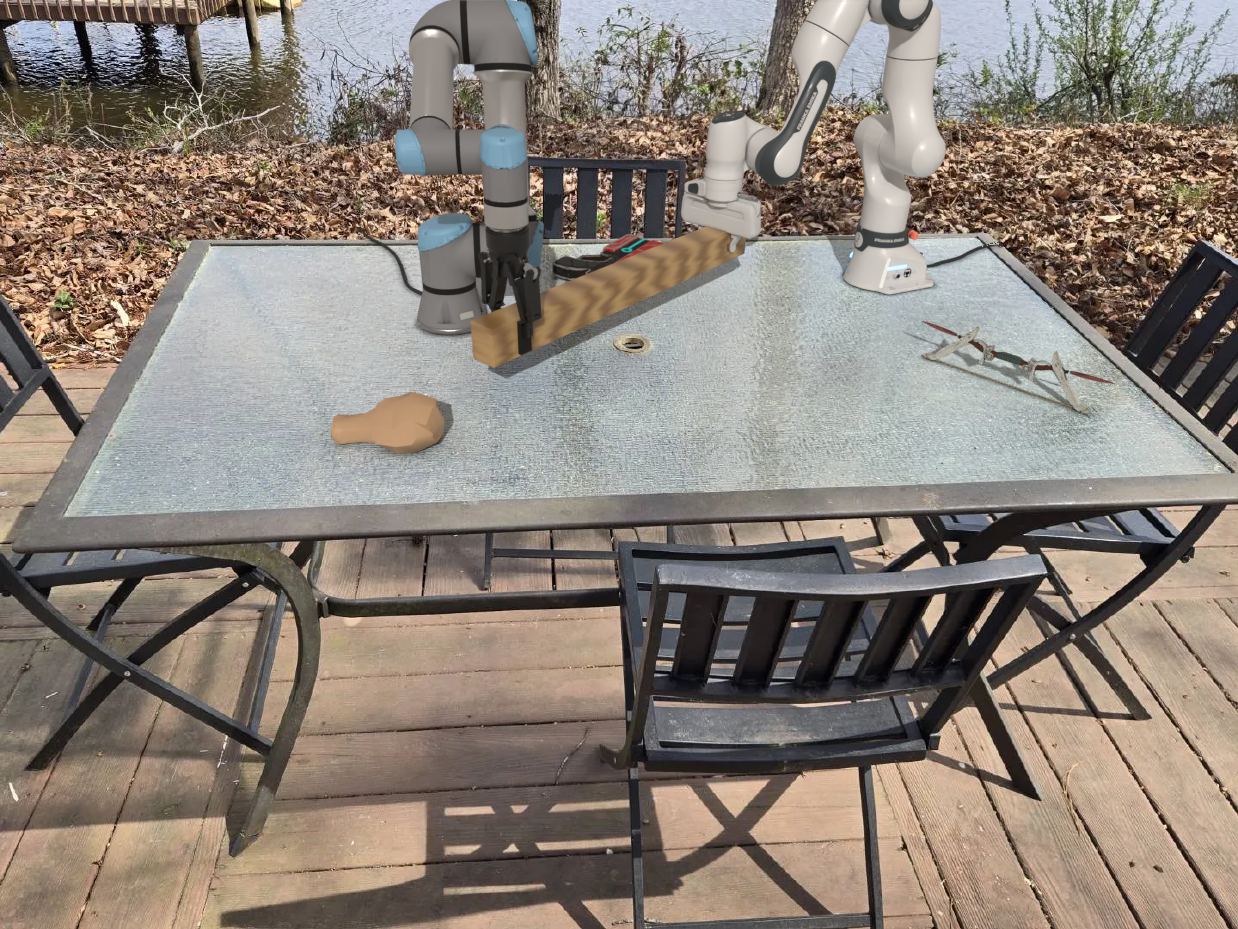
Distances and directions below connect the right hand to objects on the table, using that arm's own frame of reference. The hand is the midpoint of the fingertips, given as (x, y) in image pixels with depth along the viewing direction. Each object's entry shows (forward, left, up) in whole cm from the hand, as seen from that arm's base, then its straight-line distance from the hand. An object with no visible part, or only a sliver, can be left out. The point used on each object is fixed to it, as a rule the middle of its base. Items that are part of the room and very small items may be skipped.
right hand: (718, 247), depth 206 cm
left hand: (+54, +39, -2) cm, 67 cm away
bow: (-43, +54, -12) cm, 70 cm away
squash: (+78, +52, -12) cm, 95 cm away
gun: (+20, -21, -12) cm, 32 cm away
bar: (+27, +20, -3) cm, 34 cm away
